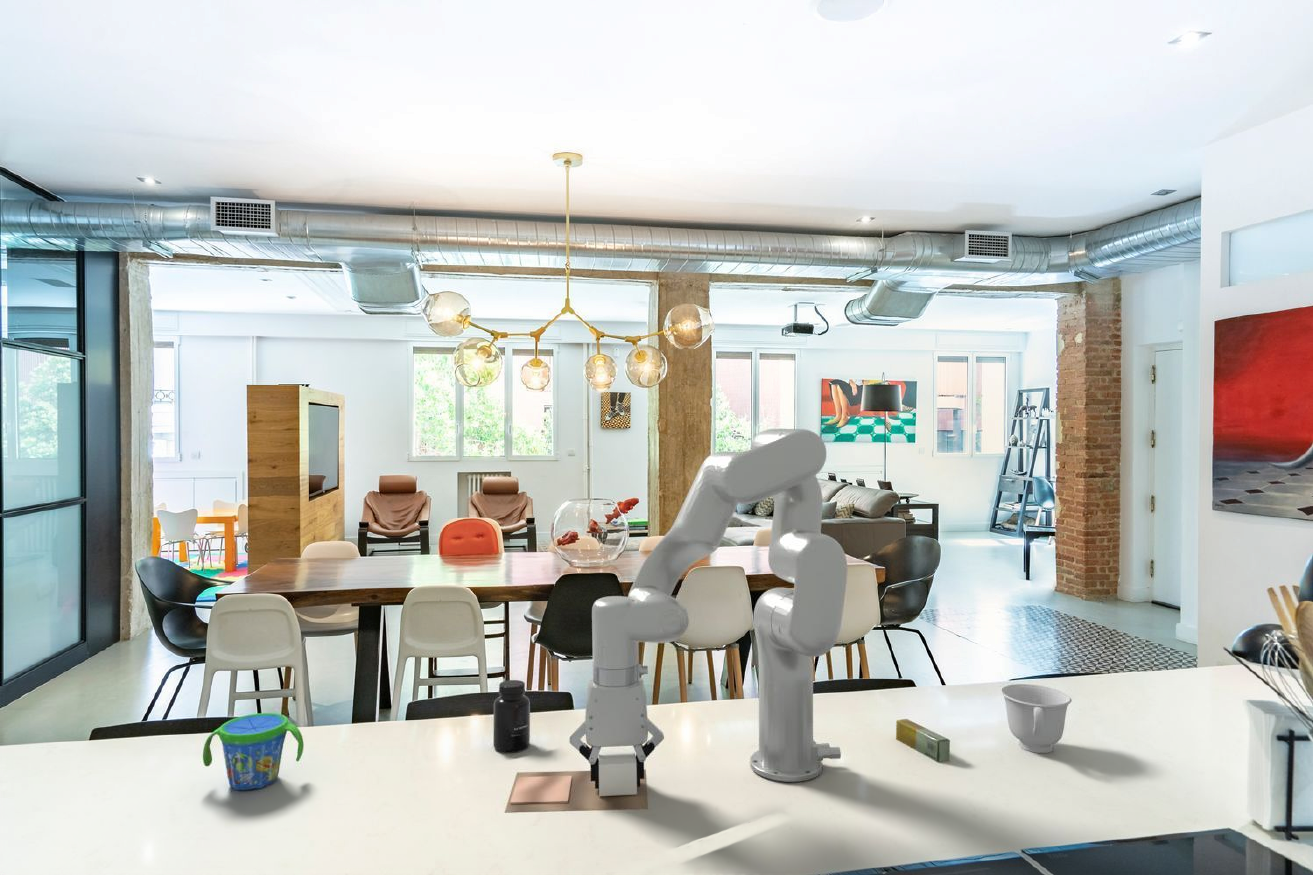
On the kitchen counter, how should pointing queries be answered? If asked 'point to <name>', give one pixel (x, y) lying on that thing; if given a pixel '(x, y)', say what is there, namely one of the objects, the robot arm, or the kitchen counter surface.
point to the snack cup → (253, 748)
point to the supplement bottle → (511, 717)
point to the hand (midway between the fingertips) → (617, 782)
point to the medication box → (923, 740)
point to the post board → (568, 793)
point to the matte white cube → (617, 772)
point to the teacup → (1035, 715)
